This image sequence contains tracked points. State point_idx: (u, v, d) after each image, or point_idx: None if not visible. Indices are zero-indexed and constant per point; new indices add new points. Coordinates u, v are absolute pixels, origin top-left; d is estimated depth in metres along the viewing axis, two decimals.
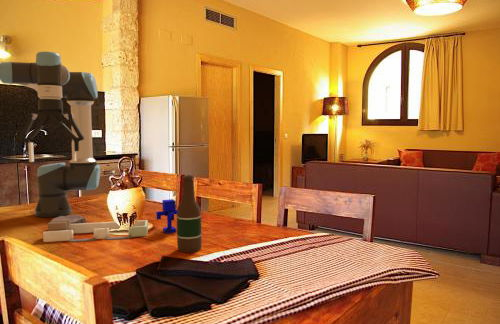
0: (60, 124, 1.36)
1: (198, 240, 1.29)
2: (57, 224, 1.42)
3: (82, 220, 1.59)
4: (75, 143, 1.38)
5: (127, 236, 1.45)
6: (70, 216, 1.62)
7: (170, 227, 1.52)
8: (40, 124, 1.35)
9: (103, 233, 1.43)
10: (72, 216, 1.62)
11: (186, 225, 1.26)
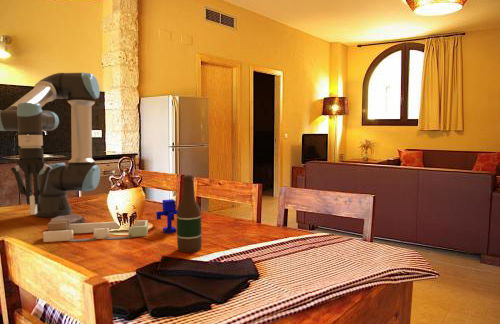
0: (34, 174, 1.40)
1: (198, 240, 1.29)
2: (57, 224, 1.42)
3: (81, 220, 1.60)
4: (35, 197, 1.42)
5: (127, 236, 1.45)
6: (69, 216, 1.62)
7: (170, 227, 1.52)
8: (26, 173, 1.40)
9: (103, 233, 1.43)
10: (71, 216, 1.62)
11: (186, 225, 1.26)
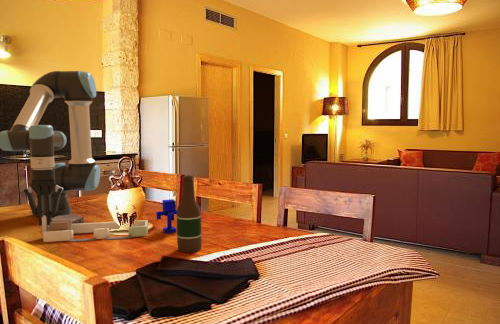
0: (46, 195, 1.42)
1: (198, 240, 1.29)
2: (59, 224, 1.42)
3: (80, 219, 1.61)
4: (47, 217, 1.43)
5: (127, 236, 1.45)
6: (68, 216, 1.63)
7: (170, 227, 1.52)
8: (39, 195, 1.41)
9: (103, 233, 1.43)
10: (70, 216, 1.63)
11: (186, 225, 1.26)
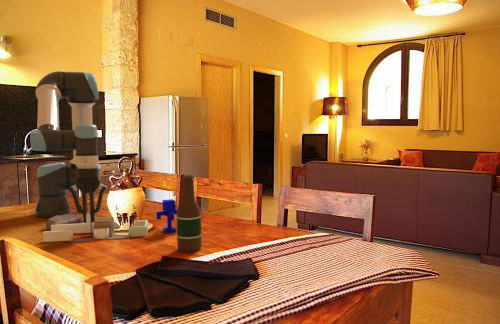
0: (91, 193, 1.45)
1: (198, 240, 1.29)
2: (103, 222, 1.45)
3: (79, 219, 1.61)
4: (91, 215, 1.46)
5: (127, 236, 1.45)
6: (66, 215, 1.63)
7: (170, 227, 1.52)
8: (83, 193, 1.44)
9: (103, 233, 1.43)
10: (68, 215, 1.63)
11: (186, 225, 1.26)
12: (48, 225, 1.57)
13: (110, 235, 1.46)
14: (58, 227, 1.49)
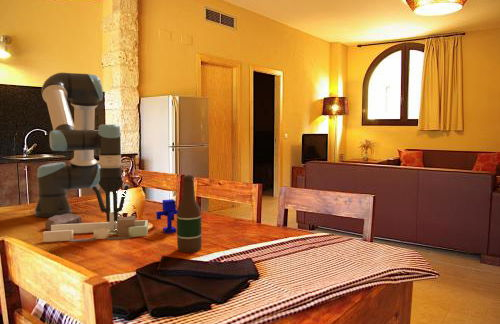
0: (114, 192, 1.46)
1: (198, 240, 1.29)
2: (126, 220, 1.47)
3: (78, 219, 1.62)
4: (114, 214, 1.48)
5: (127, 236, 1.45)
6: (65, 215, 1.64)
7: (170, 227, 1.52)
8: (107, 192, 1.46)
9: (103, 233, 1.43)
10: (67, 215, 1.64)
11: (186, 225, 1.26)
12: (47, 225, 1.57)
13: None
14: (58, 227, 1.49)
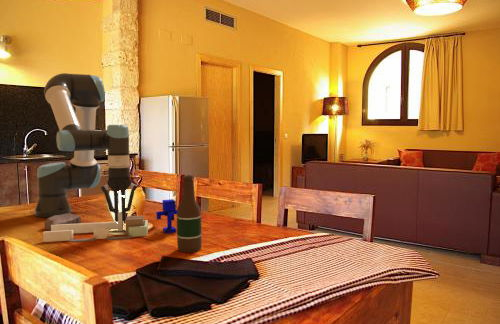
0: (122, 192, 1.47)
1: (198, 240, 1.29)
2: (134, 220, 1.47)
3: (78, 219, 1.62)
4: (122, 214, 1.49)
5: (127, 236, 1.45)
6: (64, 215, 1.64)
7: (170, 227, 1.52)
8: (115, 192, 1.46)
9: (103, 233, 1.43)
10: (66, 215, 1.64)
11: (186, 225, 1.26)
12: (47, 225, 1.57)
13: None
14: (58, 227, 1.49)
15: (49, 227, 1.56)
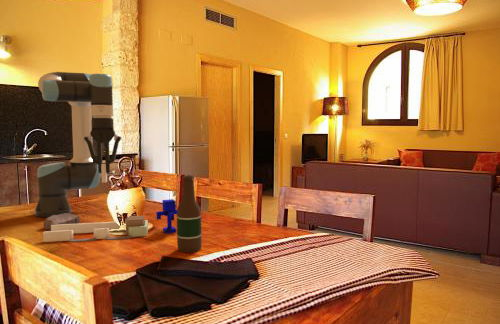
0: (106, 143, 1.45)
1: (198, 240, 1.29)
2: (135, 220, 1.47)
3: (76, 218, 1.63)
4: (106, 165, 1.47)
5: (127, 236, 1.45)
6: (63, 215, 1.64)
7: (170, 227, 1.52)
8: (99, 143, 1.45)
9: (103, 233, 1.43)
10: (65, 215, 1.64)
11: (186, 225, 1.26)
12: (46, 225, 1.57)
13: None
14: (58, 227, 1.49)
15: (48, 227, 1.56)
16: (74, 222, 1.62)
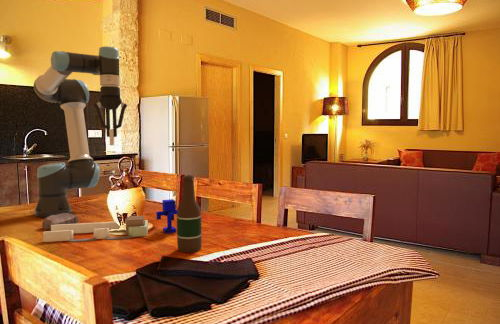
0: (113, 109, 1.61)
1: (198, 240, 1.29)
2: (135, 220, 1.47)
3: (75, 218, 1.63)
4: (114, 130, 1.63)
5: (127, 236, 1.45)
6: (61, 215, 1.65)
7: (170, 227, 1.52)
8: (107, 109, 1.61)
9: (103, 233, 1.43)
10: (63, 215, 1.65)
11: (186, 225, 1.26)
12: (45, 225, 1.58)
13: None
14: (58, 227, 1.49)
15: (47, 227, 1.57)
16: (73, 222, 1.62)
